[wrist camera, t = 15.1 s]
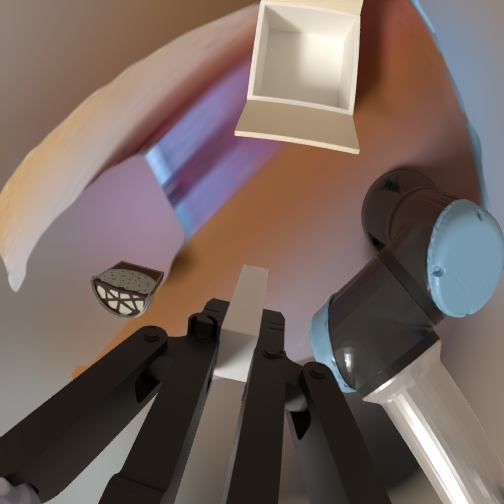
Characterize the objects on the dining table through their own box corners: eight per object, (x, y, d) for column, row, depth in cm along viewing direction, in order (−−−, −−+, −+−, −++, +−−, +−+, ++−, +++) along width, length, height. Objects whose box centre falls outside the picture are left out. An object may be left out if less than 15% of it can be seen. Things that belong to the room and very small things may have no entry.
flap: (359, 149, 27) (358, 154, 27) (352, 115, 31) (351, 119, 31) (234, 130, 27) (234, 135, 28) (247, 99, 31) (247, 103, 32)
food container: (115, 285, 55) (90, 309, 46) (115, 259, 53) (87, 280, 43) (169, 301, 54) (148, 330, 45) (171, 274, 52) (149, 300, 43)
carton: (346, 40, 35) (360, 16, 25) (338, 122, 40) (352, 115, 31) (266, 28, 36) (260, 1, 26) (255, 110, 41) (246, 99, 31)
